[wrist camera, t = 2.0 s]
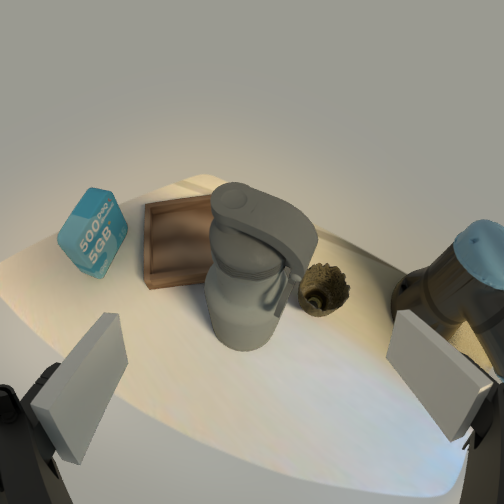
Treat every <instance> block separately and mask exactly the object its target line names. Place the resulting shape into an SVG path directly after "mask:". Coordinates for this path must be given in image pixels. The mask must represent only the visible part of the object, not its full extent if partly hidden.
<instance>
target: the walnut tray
mask: <svg viewBox="0 0 504 504" xmlns="http://www.w3.org/2000/svg"><path fill="white" fill-rule="evenodd" d="M210 199H211V195H205V196H197V197H190V198H182V199H175V200H168V201H162V202H155V203H149V204H145V224H144V282H145V283H146V285H147V286H148V288H149V290H151V289H159V288H167V287H175V286H183V285H190V284H198V283H205V279H206V275H207V273H208V271H209V269H210V267H211V266H212V264H213V263H214V262H213V260H212V255H211V247H210V240H209V229H210V225H211V222H212V220H213V219H214V217H213V215H212V212H211V203H210Z"/></svg>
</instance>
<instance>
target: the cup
mask: <svg viewBox="0 0 504 504" xmlns="http://www.w3.org/2000/svg"><path fill="white" fill-rule="evenodd" d="M329 266H330V265H329V264H328V263H326V264H325V265H324V266H322V264H321V263H318V264H316V265H315V264H314V265H312V267H310V268H309V270H308V269H307V270H306V272H305V275H304V277H303V279H302V281H300V285H299V291H298V300H299V304H300V306H301V308H302V309H303V310H304V311H305V312H306V313H307V314H309V315H311V316H315V317H322V316H326V315H329V314H330V313H332V312H334V311H335V310H337V309H338V308H339V307H341V306H343V304H344V303H345V302H346V300H347V299H348V298H349V290H350V286H349V285H346V282H345V278H346V276H345V274H344V273H342V274H341V271H340V269H339V268H338V267H336V266H333V267H329ZM310 301H315V302H316V303H317V304H318V307H317V308H316V307H315V306H313V305H312V304H311V303H310Z"/></svg>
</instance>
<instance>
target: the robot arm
mask: <svg viewBox="0 0 504 504" xmlns="http://www.w3.org/2000/svg"><path fill="white" fill-rule="evenodd" d="M391 310H392V316H393V320H394V322H395V323H394V327H393V332H392V336H391V340H390V344H389V348H388V351H387V355H386V358H387V360H388V361H389V362H390V363H391V365H392V366H393V367H394V369H395V370H396V371H397V372H398V374H399V375H400V376H401V377H402V379H403V380H404V381H405V383H406V384H407V385H408V387H409V388H410V389H411V390H412V392H413V393H414V394H415V396H416V397H417V398H418V400H419V401H420V402H421V404H422V405H423V406H424V407H425V409H426V410H427V411H428V413H429V414H430V415H431V417H432V418H433V420H434V421H435V422H436V424H437V425H438V426H439V428H440V429H441V430H442V432H443V433H444V434H445V436H446V437H447V439H448V440H449V441H450V442H452V441H454V440H457V439H459V438H461V437H463V436H464V435H465V433H466V432H467V430H468V428H469V427H470V426H471V427H472V428H473V429H474V430H473V432H472V434H471V435H470V437H469V438H468V440H467V441H466V443H465V444H464V446H463V448H462V450H464V449H465V448H466V446H467V445H468V444H470V445H469V448H468V451H469V453H468V461H467V467H466V474H465V479H464V484H463V490H462V494H461V499H460V503H459V504H504V227H503V226H502V225H500V224H498V223H496V222H492V221H490V220H478V221H475V222H473V223H472V224H471V225H470V226H468V228H466V229H465V230H464V231H463V232H461V233H460V234H458V235H457V237H456V238H455V241H454V242H453V243H452V244H451V245H450V246H449V247H448V248H447V249H446V250H445V251H444V252H443V254H441V255H440V256H439V257H438V258H437V259H436V260H435V261H434V262H433V263H432V264H431V265H430V266H428V267H425V268H422V269H419V270H416V271H413V272H411V273H409V274H408V275H406V276H405V277H404V278H403V279H402V280H401V281H400V282H399V283H398V284H397V286H396V287H395V289H394V292H393V295H392V300H391ZM466 320H467V322H468V323H469V325H470V327H471V328H472V330H473V331H474V333H475V335H476V337H477V338H478V340H479V342H480V344H481V345H482V347H483V349H484V351H485V353H486V354H487V356H488V358H489V360H490V362H491V364H492V366H493V368H494V372H495V374H496V375H497V376H498V377H499V378H500V380H501V381H502V383H501V384H498V383H497V382H496V381H495V380H494V379H493V378H492V377H491V376H489V374H488V373H487V372H485V371H484V370H483V369H482V368H480V366H479V365H478V364H476V363H475V362H474V361H473V360H472V359H471V358H470V357H469V356H467V355H465V354H463V353H461V352H459V351H458V350H457V349H456V348H454V347H453V346H452V345H451V344H450V343H449V342H447V341H448V340H449V339H450V338H451V337H452V336H453V334H454V333H455V332H456V331H457V329H458V328H459V327H460V325H461V324H462V323H463V322H465V321H466ZM127 365H128V359H127V355H126V350H125V345H124V340H123V335H122V329H121V324H120V318H119V314H117V313H103V315H102V316H101V317H100V318H99V319H98V320H97V321H96V323H95V324H94V325H93V326H92V327H91V328H90V329H89V331H88V332H87V333H86V334H85V335H84V337H83V338H82V339H81V340H80V341H79V342H78V344H77V345H76V346H75V347H74V348H73V350H72V351H71V352H70V353H69V355H68V356H67V357H66V358H65V359H64V361H63V362H62V363H57V362H56V363H54V364H53V365H51V366H50V367H48V368H47V369H46V370H45V371H44V372H43V373H42V375H41V376H40V378H38V379H37V381H36V382H35V384H34V385H33V386H32V387H31V388H30V389H29V391H28V392H27V393H26V394H25V396H24V397H23V398H22V400H21V401H19V399H18V397H17V395H16V393H15V391H14V389H13V388H12V387H11V386H9V385H5V384H2V385H0V504H73V502H72V500H71V498H70V496H69V494H68V492H67V489H66V487H65V485H64V482H63V480H62V477H61V475H60V472H59V470H58V467H57V465H56V462H55V460H54V459H53V457H52V456H53V454H54V452H55V450H56V451H57V453H58V454H59V456H60V457H61V459H62V460H64V461H68V462H71V463H74V464H77V465H81V462H82V460H83V458H84V456H85V453H86V451H87V449H88V447H89V444H90V442H91V440H92V437H93V435H94V433H95V431H96V429H97V426H98V424H99V422H100V420H101V418H102V416H103V414H104V412H105V409H106V407H107V405H108V403H109V401H110V399H111V397H112V395H113V393H114V391H115V389H116V387H117V385H118V383H119V381H120V379H121V377H122V375H123V373H124V371H125V369H126V367H127Z"/></svg>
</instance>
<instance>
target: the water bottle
mask: <svg viewBox="0 0 504 504" xmlns="http://www.w3.org/2000/svg"><path fill="white" fill-rule="evenodd" d="M210 203H211V212H212V215H213V217H214V219H213V220H212V222H211V225H210V229H209V240H210V247H211V255H212V260H213V262H214V263H213V264H212V266H211V267H210V269H209V271H208V273H207V275H206V279H205V297H206V302H207V306H208V310H209V314H210V318H211V321H212V325H213V329H214V332H215V334H216V336H217V337H218V339H219V340H220V341H221V342H222V343H223V344H224V345H225V346H227V347H229V348H231V349H233V350H236V351H252V350H256V349H258V348H260V347H262V346H263V345H264V344H266V343H267V342H268V341H269V339H270V338H271V336H272V335H273V333H274V330H275V328H276V326H277V324H278V322H279V319H280V317H281V315H282V313H283V310H284V308H285V306H286V303H287V300H288V298H289V295H290V293H291V291H292V289H293V286H294V284H295V282H296V281H298V282H300V281H302V279H303V277H304V275H305V272H306V270H307V267H308V265H309V263H310V260H311V258H312V256H313V253H314V251H315V248H316V246H317V243H318V236H317V232H316V230H315V227H314V225H313V224H312V223H311V221H310V220H309V219H308V218H307V217H306V216H305V215H304V214H303V213H302V212H301V211H300V210H299V209H297V208H296V207H294V206H293V205H291V204H290V203H288V202H286V201H284V200H282V199H279V198H277V197H274V196H272V195H269V194H267V193H264V192H262V191H259V190H256V189H254V188H251V187H249V186H248V185H246V184H243V183H238V182H231V183H226V184H223V185H221V186H219V187H217V188H216V189H215V190H214V191H213V193H212V195H211V199H210ZM285 266H287V267H290V268H291V272H290V275H289V279H288V277H287V274H286V272H285V270H284V268H285Z"/></svg>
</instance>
